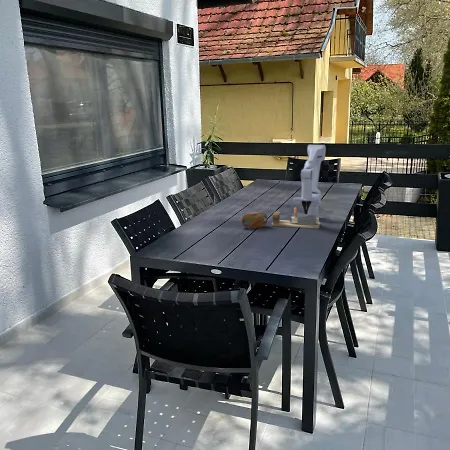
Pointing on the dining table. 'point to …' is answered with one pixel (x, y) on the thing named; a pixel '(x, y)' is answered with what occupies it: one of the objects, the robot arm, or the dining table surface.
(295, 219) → the white bar
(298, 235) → the dining table surface
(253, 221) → the tin
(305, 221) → the grey rectangular sleeve
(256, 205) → the dining table surface
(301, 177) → the robot arm
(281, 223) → the base board
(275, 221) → the socket block
